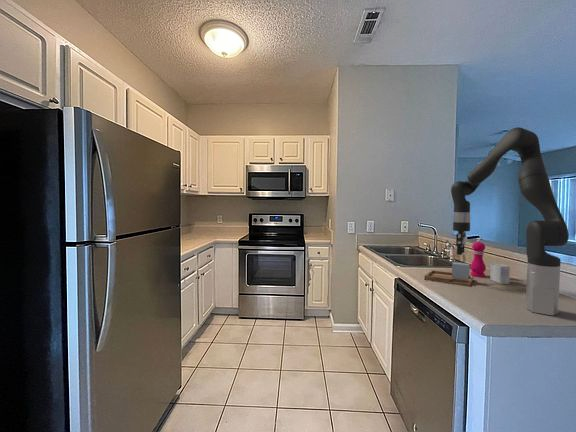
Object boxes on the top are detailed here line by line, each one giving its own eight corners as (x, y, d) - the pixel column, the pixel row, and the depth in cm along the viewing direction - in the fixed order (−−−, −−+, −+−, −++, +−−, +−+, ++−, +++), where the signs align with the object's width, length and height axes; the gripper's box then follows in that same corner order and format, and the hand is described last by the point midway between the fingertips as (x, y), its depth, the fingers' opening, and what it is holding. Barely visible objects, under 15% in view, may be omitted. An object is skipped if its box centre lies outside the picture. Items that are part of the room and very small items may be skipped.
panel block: (467, 281, 149) (468, 265, 148) (451, 279, 153) (452, 263, 152) (469, 279, 152) (469, 263, 152) (453, 277, 156) (453, 262, 156)
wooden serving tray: (469, 286, 143) (469, 281, 143) (424, 279, 155) (424, 275, 155) (473, 279, 156) (473, 275, 156) (431, 274, 168) (431, 270, 168)
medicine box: (509, 284, 148) (510, 266, 148) (500, 284, 148) (501, 266, 148) (498, 280, 156) (499, 263, 155) (489, 280, 156) (490, 263, 156)
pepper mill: (470, 273, 169) (471, 238, 168) (485, 275, 165) (487, 239, 164) (469, 276, 164) (470, 239, 163) (485, 278, 159) (486, 240, 158)
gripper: (468, 222, 143) (467, 256, 144) (471, 221, 155) (470, 252, 155) (450, 221, 148) (450, 254, 148) (455, 220, 159) (454, 251, 160)
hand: (460, 253), depth 152 cm, fingers open, 8 cm apart
